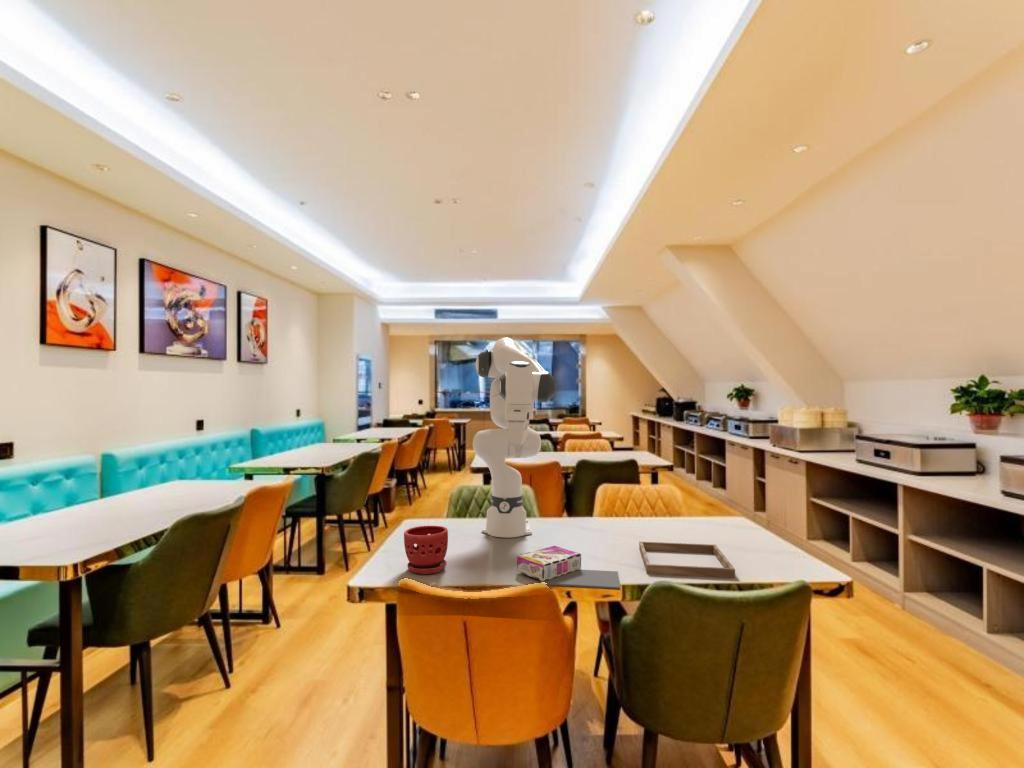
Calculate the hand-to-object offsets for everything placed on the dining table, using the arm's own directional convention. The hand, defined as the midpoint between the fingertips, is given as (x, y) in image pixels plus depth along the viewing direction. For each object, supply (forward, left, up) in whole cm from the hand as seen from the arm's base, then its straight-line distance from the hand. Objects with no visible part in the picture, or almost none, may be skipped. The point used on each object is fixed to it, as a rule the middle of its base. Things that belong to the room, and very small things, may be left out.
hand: (518, 457), depth 175 cm
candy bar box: (+2, +16, -30) cm, 34 cm away
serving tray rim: (-8, +52, -33) cm, 62 cm away
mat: (+12, +20, -33) cm, 40 cm away
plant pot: (+11, -26, -33) cm, 44 cm away
